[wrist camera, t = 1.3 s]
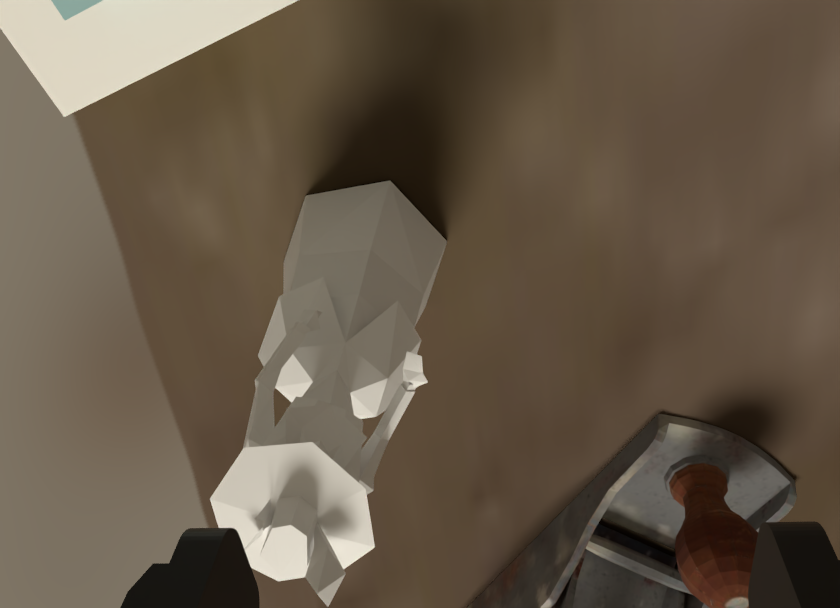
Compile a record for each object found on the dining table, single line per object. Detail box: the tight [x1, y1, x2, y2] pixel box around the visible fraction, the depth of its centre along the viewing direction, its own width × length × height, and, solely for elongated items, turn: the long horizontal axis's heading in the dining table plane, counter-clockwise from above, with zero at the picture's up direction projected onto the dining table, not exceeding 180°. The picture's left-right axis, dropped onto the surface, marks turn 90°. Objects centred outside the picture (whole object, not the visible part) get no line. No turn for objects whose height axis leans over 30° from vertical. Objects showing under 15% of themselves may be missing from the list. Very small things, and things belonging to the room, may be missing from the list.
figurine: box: [210, 181, 447, 606], centre depth 27 cm, size 7×8×18 cm
